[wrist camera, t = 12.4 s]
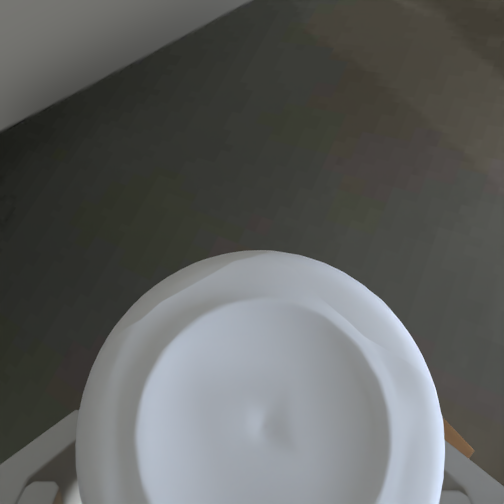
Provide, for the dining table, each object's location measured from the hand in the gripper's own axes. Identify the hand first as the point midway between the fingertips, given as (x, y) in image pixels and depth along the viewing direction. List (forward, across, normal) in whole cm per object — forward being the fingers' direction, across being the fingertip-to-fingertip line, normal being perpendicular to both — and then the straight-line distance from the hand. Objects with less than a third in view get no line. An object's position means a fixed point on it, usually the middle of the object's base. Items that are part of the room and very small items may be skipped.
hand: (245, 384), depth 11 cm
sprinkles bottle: (+5, 0, +6) cm, 7 cm away
